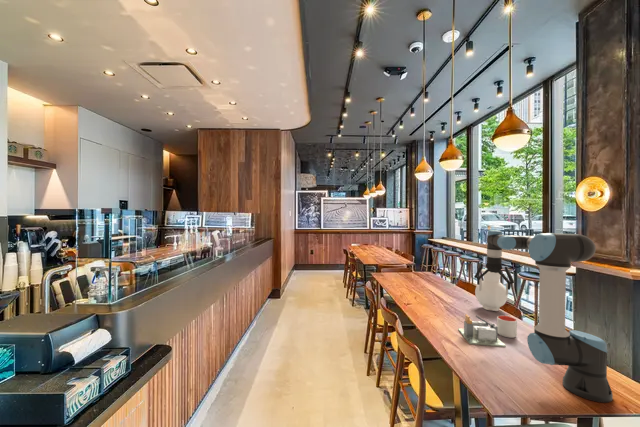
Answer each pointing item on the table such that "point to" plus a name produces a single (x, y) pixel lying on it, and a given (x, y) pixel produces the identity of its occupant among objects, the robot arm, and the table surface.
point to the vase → (491, 292)
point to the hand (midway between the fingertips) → (493, 292)
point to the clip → (468, 319)
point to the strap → (484, 321)
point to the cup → (507, 326)
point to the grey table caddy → (481, 334)
